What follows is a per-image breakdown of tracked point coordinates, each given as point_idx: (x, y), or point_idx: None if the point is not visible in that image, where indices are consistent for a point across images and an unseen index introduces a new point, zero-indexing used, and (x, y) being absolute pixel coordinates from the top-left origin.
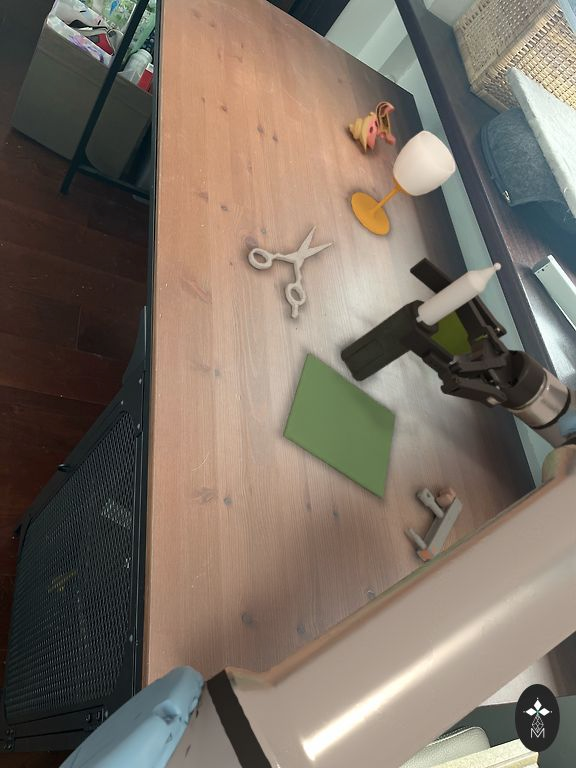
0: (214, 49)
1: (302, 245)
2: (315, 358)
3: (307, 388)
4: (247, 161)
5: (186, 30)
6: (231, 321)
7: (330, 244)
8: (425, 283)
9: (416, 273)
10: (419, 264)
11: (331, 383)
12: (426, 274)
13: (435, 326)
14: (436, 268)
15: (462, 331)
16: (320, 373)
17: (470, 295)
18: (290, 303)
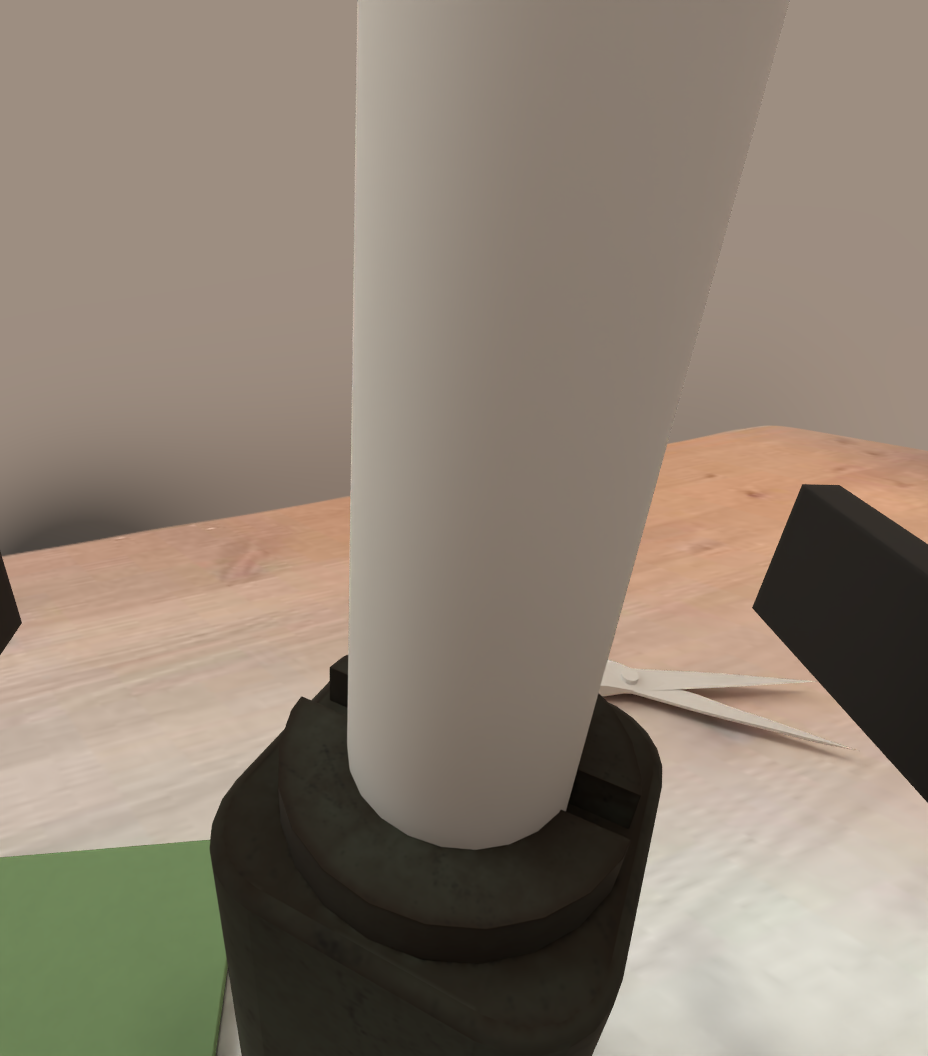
0: (837, 463)
1: (669, 672)
2: None
3: (35, 893)
4: (711, 540)
5: (790, 441)
6: (205, 625)
7: (823, 741)
8: (850, 703)
9: (784, 612)
10: (786, 530)
11: (126, 1006)
12: (837, 607)
13: (429, 879)
14: (918, 549)
15: None
16: (157, 921)
17: (368, 61)
18: None
